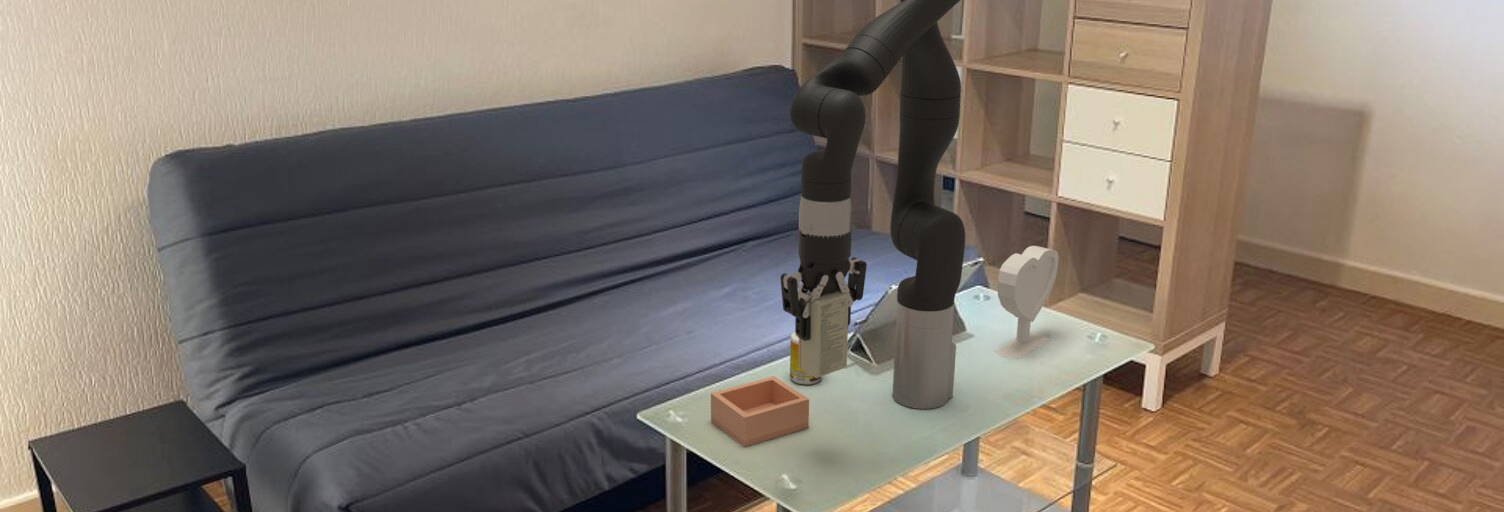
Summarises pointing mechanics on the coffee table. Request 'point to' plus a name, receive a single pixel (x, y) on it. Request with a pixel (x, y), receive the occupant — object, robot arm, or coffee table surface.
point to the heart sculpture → (1026, 294)
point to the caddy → (759, 411)
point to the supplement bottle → (795, 372)
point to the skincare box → (826, 336)
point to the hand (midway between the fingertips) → (822, 333)
